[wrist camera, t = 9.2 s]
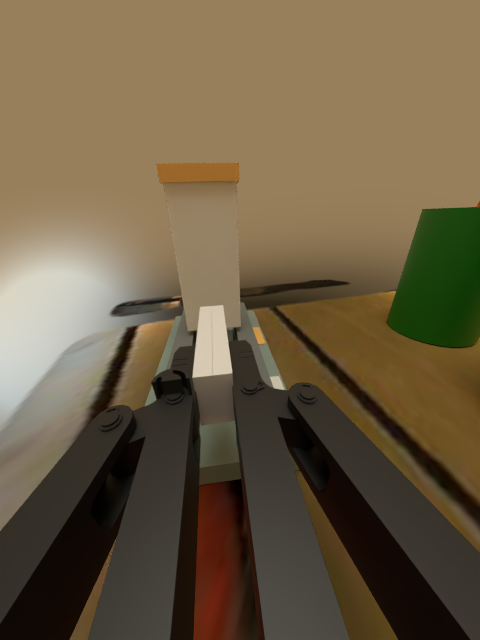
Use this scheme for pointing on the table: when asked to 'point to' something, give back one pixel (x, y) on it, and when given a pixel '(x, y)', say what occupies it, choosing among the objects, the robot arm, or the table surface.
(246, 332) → the grey stepped base plate
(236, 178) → the slide lever
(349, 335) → the table surface
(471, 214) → the motor
